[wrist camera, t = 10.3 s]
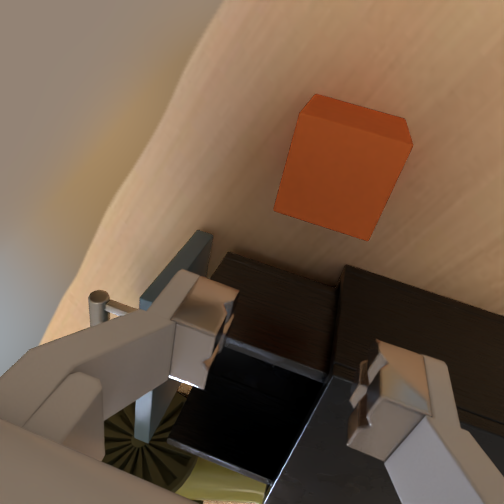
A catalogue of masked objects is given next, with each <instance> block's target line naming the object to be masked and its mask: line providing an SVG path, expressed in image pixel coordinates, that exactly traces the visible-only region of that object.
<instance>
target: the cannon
mask: <svg viewBox="0 0 504 504" xmlns="http://www.w3.org/2000/svg"><path fill="white" fill-rule="evenodd" d="M185 401H186V398H185V397H184V396H182V395H181V394H179V393H178V392H176V393H175V395H174V397H173V399H172V401H171V403H170V404H169V406H168V408H167V410H166V412H165V414H164V416H163V417H162V419H161V421H160V423H159V425H158V427H157V429H156V431H155V432H154V434H153V436H152V438H151V440H150V442H149V443H145V442H143V441H141V440H138V439H136V438H134V429H135V404H136V401H134V402H133V403H131V404H130V405H128V406H126V407H125V408H123V409H122V410H120V411H119V412H117V413H115V414H114V415H112V416H111V417H109V418H108V419H106V420H105V421H104V442H105V456H104V458H103V459H102V462H104V463H106V464H109V465H111V466H113V467H116V468H118V469H120V470H123V471H125V472H127V473H130V474H132V475H134V476H137V477H139V478H141V479H144V480H146V481H148V482H151V483H153V484H155V485H158V486H160V487H162V488H165V489H167V490H169V491H172V492H174V493H176V494H179V495H181V496H183V497H185V498H188V499H190V500H192V501H195V502H197V503H199V504H203V501H221V502H244V503H256V504H262V501H263V498H264V492H265V488H266V484H264V483H261V482H259V481H257V480H254V479H252V478H249V477H247V476H245V475H242V474H240V473H237V472H235V471H232V470H230V469H228V468H225V467H223V466H220V465H218V464H216V463H213V462H211V461H208V460H206V459H204V458H201V457H199V456H196V455H194V454H191V453H189V452H187V451H184V450H182V449H179V448H177V447H175V446H172V445H170V444H167V437H168V435H169V433H170V431H171V429H172V427H173V425H174V423H175V421H176V419H177V417H178V415H179V413H180V411H181V409H182V407H183V405H184V403H185Z"/></svg>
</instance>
